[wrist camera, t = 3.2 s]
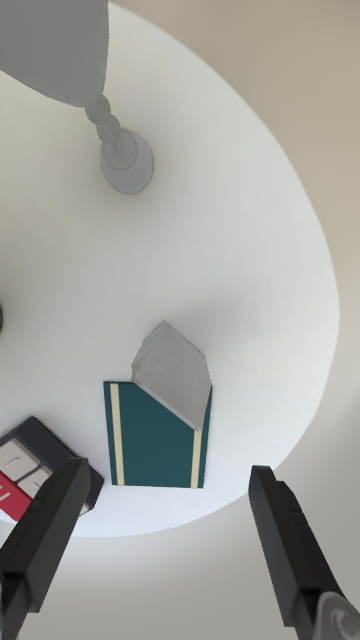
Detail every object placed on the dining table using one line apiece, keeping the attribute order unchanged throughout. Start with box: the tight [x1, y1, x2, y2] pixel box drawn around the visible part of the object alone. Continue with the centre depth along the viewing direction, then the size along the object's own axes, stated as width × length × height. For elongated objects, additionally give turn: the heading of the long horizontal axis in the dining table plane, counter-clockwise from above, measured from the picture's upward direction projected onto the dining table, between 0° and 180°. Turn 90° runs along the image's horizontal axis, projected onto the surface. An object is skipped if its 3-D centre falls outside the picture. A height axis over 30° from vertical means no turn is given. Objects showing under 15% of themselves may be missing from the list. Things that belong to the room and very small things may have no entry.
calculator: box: [0, 417, 104, 521], centre depth 27 cm, size 11×4×15 cm
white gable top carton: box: [131, 320, 212, 433], centre depth 19 cm, size 4×7×10 cm, turn 46°
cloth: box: [103, 382, 212, 488], centre depth 27 cm, size 14×18×1 cm
